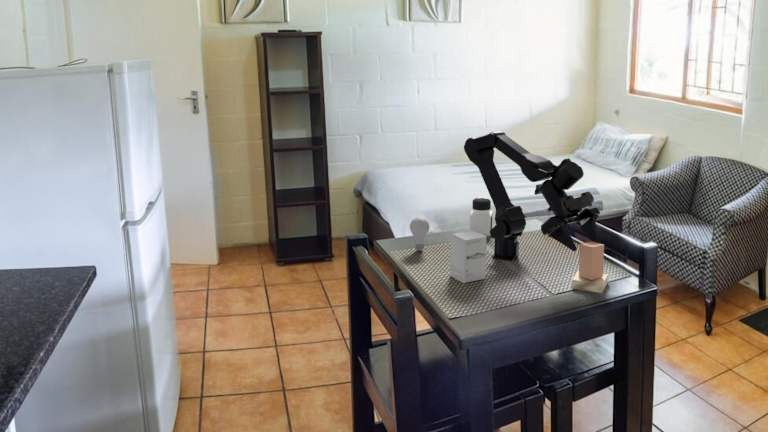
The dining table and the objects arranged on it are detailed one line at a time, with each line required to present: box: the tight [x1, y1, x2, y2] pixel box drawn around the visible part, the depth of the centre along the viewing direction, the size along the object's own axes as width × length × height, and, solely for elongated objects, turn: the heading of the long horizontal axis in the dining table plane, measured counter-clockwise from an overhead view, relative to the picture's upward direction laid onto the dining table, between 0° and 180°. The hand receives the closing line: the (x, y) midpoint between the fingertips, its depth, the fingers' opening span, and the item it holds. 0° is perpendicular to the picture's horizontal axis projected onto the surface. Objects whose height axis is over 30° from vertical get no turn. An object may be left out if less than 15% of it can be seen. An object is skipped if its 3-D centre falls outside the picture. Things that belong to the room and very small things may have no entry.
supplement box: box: [449, 230, 487, 284], centre depth 197 cm, size 7×7×13 cm
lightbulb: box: [409, 216, 430, 252], centre depth 220 cm, size 6×6×11 cm
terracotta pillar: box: [578, 240, 605, 280], centre depth 189 cm, size 4×4×9 cm
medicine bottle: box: [469, 197, 493, 237], centre depth 238 cm, size 7×7×12 cm
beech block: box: [571, 269, 609, 294], centre depth 191 cm, size 8×8×3 cm
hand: (586, 247), depth 190 cm, fingers open, 9 cm apart
